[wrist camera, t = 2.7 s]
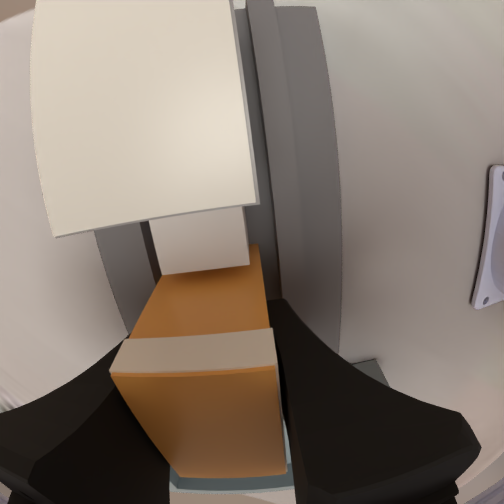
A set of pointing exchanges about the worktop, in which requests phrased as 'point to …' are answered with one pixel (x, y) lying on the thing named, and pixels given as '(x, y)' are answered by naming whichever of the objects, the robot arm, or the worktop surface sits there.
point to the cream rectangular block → (138, 111)
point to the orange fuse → (207, 374)
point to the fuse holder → (260, 187)
